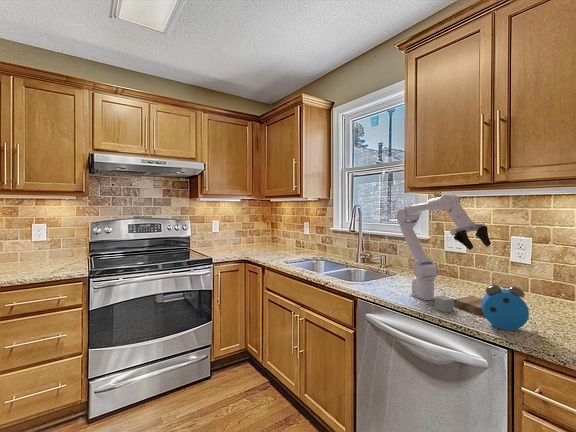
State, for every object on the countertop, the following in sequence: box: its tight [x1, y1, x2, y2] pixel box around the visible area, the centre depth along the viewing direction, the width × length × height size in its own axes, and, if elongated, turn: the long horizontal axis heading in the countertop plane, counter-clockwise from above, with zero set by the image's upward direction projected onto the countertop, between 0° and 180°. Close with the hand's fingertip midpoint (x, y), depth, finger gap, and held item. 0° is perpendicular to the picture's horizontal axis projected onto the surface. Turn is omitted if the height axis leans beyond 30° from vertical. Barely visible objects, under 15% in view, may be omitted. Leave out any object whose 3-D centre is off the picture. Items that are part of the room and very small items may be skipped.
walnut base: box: [453, 295, 485, 316], centre depth 129 cm, size 12×12×3 cm
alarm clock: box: [481, 284, 530, 331], centre depth 109 cm, size 13×6×15 cm, turn 66°
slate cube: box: [434, 295, 455, 313], centre depth 128 cm, size 5×5×5 cm
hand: (480, 247), depth 118 cm, fingers open, 7 cm apart
